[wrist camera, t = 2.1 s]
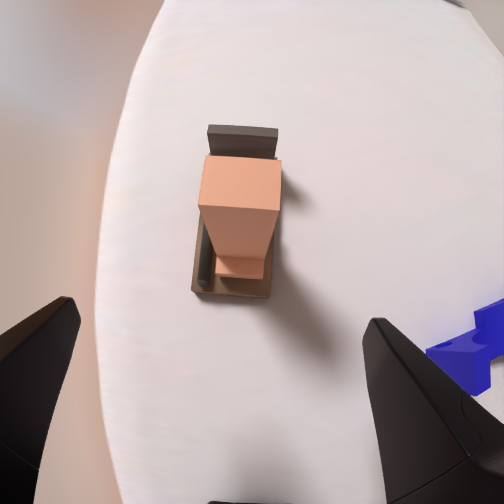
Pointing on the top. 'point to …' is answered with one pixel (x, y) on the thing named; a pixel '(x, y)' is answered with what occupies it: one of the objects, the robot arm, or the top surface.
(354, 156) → the top surface
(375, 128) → the top surface
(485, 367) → the cable clip
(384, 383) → the robot arm
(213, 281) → the grey block holder
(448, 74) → the top surface
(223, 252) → the block
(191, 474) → the top surface
